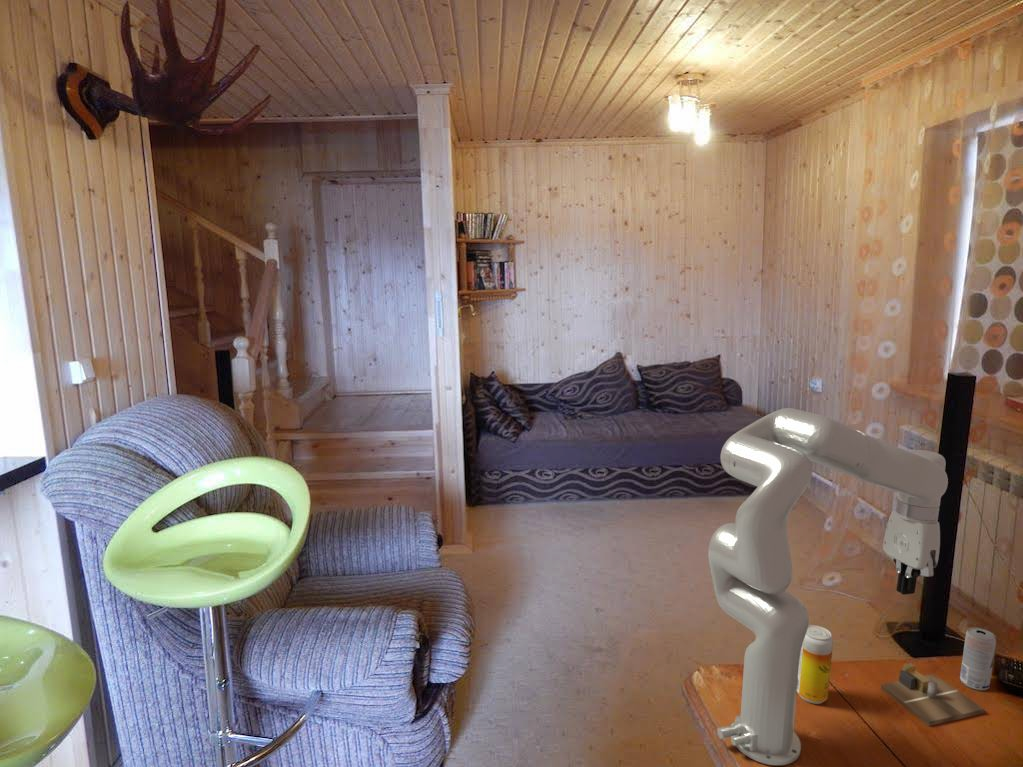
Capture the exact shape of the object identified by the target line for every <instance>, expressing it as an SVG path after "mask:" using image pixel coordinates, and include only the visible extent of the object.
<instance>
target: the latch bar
mask: <svg viewBox="0 0 1023 767" xmlns="http://www.w3.org/2000/svg"><path fill="white" fill-rule="evenodd" d="M902 665H903V667H902V670H905V671H906V672H907V673H909V674H910V675H912V676H913V677H914V678H915V686H914V687H915V688H916V689H918V690H919V691H921V692H926V691H928V683H929V682H930V681H931V680H929V679H928V678H926V677H925V675H923V674H922V673H920V672H918V671H917V670H916V667H917V666H916V665H915V664H914V663H912V662H908V663H904V664H902Z"/></svg>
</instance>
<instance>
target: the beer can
mask: <svg viewBox="0 0 1023 767" xmlns="http://www.w3.org/2000/svg"><path fill="white" fill-rule="evenodd" d="M833 648H834V638H833V636H832V632H830V630H829V629H827V628H825V627H823V626H819V625H815V624H809V625H808V629H807V632H806V635H805V638H804V641H803V644H802V648H801V653H800V659H799V669H798V681H797V694H798V695H799V697H800V698H801V699H803V701H805V702H807V703H810V704H814V705H820V704H823V703H824V702H826V701H827V700H828V698H829V690H830V689H829V688H830V680H831V668H832V658H833V657H832V656H833Z"/></svg>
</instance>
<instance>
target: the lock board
mask: <svg viewBox="0 0 1023 767" xmlns="http://www.w3.org/2000/svg"><path fill="white" fill-rule="evenodd" d="M924 676H925V677H926V678H928V679H929V680H931V681H930V682H929V683H928V691H926V692H921V691H919V690H918V689H916V688H915V687H914V686H915V678H914V677H913V676H912V675H910V674H909V673H907V672H906V671H905V670H903V669H901V670H899V676H898V677H899V679H898V680H897V681H892V682H888V683H882V684H881V686H880V690H882V691H883V692H884V693H886V694H887V695H888V696H889V697H891V698H892V699H893V700H894V701H895V702H897V703H899V704H900V705H901V706H903V707H904V708H905V709H906V710H908V712H910V713H911V714H913V716H915V717H916V718H917V719H919V720H920V721H921V722H923V723H924V724H925V725H927V726H928V727H932V726H936V725H940V724H944V723H948V722H952V721H953V722H954V721H957V720H958V721H959V720H962V719H965V718H970V717H974V716H979V715H983V714H985V708H983V707H982V705H980V704H978V703H976V702H975V701H974V700H972V699H971V698H969V697H967V696H966V695H965V694H963V693H962V692H961V691H959V690H958V689H956V688H954V687H953V686H952V685H950V683H948V682H946V681H945V680H943V679H942V678H940V677H939V676H937V675H936V674H934V673H930V674H926V675H924Z"/></svg>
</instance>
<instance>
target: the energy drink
mask: <svg viewBox="0 0 1023 767" xmlns="http://www.w3.org/2000/svg"><path fill="white" fill-rule="evenodd" d="M996 645H997V639H996V635H995V634H994V633H993V632H991V631H990V630H987V629H984V628H981V627H977V626H976V627H975V626H974V627H968V629H967V631H966V633H965V638H964V645H963V653H962V661H961V665H960V666H961V667H960V674H959V675H960V676H959V680H960V681H961V683H962V684H963V685H964V686H966V688H967V687H968V688H970V689H972V690H975V691H980V692H981V691H987V690H989V689H990V688H991V687H990V685H991V679H992V674H993V673H992V672H993V665H994V661H995V660H994V659H995V652H996Z"/></svg>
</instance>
